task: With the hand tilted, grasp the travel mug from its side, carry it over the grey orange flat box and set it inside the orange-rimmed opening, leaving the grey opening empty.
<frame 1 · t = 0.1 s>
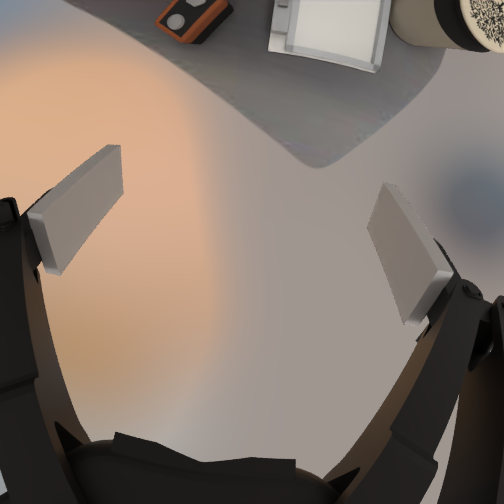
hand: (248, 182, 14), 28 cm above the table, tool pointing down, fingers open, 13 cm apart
battery: (205, 18, 30), on the table
travel mug: (412, 20, 27), on the table
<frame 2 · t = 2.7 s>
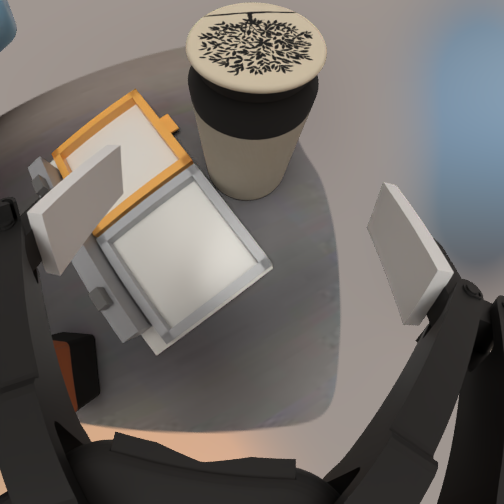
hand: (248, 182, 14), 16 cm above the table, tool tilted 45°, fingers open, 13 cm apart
battery: (82, 363, 28), on the table
travel mug: (246, 165, 31), on the table
grey orange flat box: (141, 211, 30), on the table
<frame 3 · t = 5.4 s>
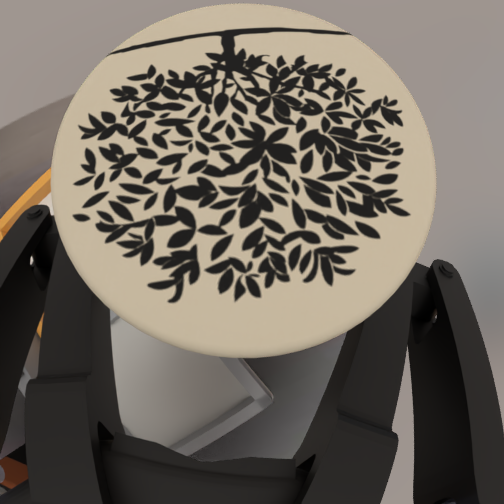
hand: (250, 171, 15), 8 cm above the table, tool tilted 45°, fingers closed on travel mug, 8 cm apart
battery: (60, 466, 19), on the table
travel mug: (239, 253, 23), on the table, touching gripper
grey orange flat box: (103, 315, 21), on the table
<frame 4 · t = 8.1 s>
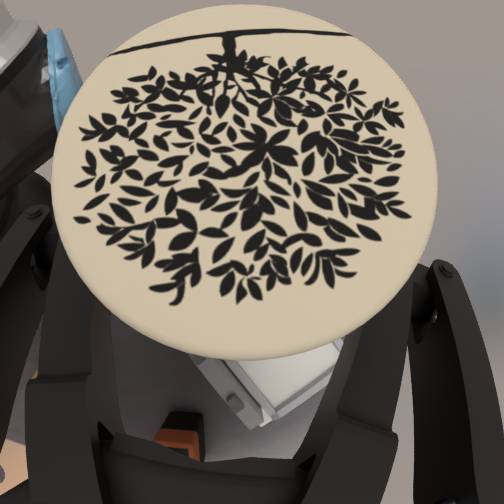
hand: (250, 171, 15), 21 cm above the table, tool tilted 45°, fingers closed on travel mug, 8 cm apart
battery: (188, 433, 33), on the table
travel mug: (239, 254, 23), point 14 cm above the table, touching gripper
grey orange flat box: (246, 314, 36), on the table
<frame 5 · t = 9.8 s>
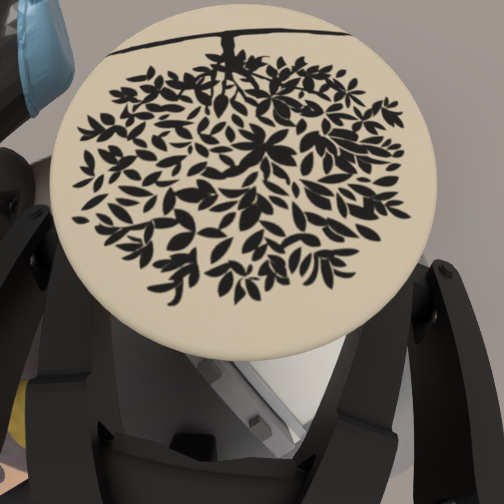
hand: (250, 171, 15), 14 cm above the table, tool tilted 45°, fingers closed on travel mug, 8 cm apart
battery: (197, 458, 26), on the table
travel mug: (239, 254, 23), point 6 cm above the table, touching gripper
grey orange flat box: (267, 313, 28), on the table
hamburger: (75, 394, 26), on the table
when the fingers open (10 cm above the table, at t = 11.0 s): travel mug drops 1 cm, resting on grey orange flat box.
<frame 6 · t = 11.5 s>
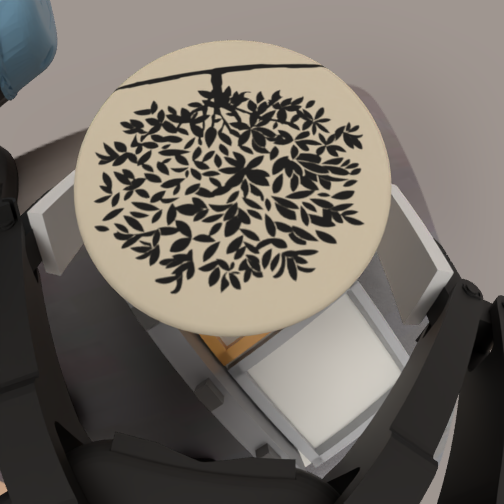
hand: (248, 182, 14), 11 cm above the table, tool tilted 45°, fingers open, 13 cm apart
travel mug: (235, 255, 24), point 1 cm above the table, touching grey orange flat box
grey orange flat box: (275, 324, 25), on the table
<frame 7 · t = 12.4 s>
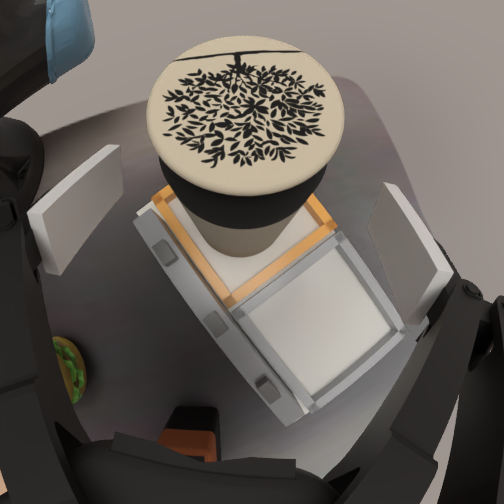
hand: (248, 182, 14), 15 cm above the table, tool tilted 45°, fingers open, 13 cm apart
battery: (198, 434, 26), on the table
travel mug: (240, 214, 28), point 1 cm above the table, touching grey orange flat box
grey orange flat box: (274, 276, 28), on the table
hamburger: (74, 365, 26), on the table
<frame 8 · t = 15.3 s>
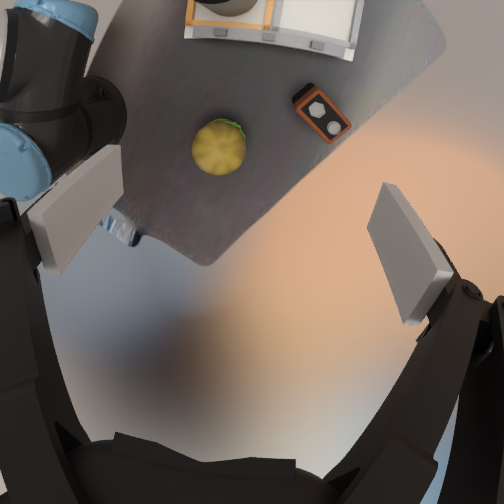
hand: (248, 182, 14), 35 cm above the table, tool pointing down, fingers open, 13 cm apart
battery: (315, 105, 43), on the table
grey orange flat box: (275, 3, 33), on the table
hamburger: (227, 133, 47), on the table
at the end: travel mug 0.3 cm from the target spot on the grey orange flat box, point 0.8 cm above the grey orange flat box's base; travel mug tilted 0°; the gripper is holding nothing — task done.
